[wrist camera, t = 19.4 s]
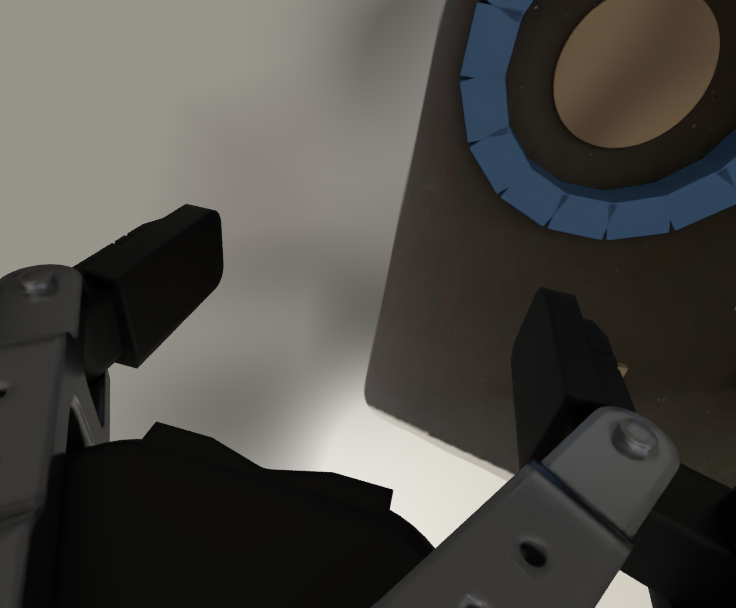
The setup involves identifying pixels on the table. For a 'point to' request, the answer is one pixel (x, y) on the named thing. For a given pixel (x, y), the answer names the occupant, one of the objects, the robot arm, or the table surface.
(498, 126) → the hoop
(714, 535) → the robot arm
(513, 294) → the table surface
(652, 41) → the cork coaster
